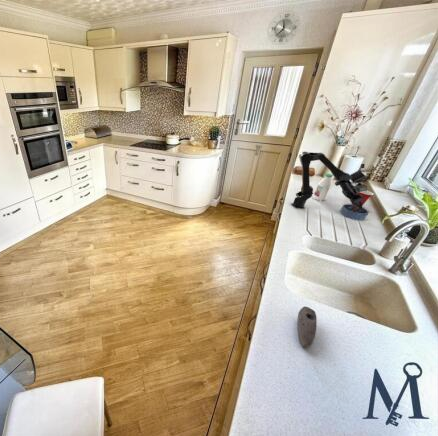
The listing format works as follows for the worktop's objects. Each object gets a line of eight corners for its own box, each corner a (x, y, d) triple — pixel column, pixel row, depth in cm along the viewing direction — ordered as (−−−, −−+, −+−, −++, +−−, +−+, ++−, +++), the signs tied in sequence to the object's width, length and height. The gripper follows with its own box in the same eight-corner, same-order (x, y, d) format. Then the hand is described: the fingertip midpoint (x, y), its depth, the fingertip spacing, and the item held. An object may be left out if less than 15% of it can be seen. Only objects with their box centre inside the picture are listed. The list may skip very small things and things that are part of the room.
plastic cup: (369, 209, 169) (378, 194, 163) (352, 207, 171) (360, 192, 165) (360, 203, 178) (368, 188, 172) (345, 201, 180) (352, 187, 174)
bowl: (349, 220, 154) (353, 213, 152) (334, 210, 167) (337, 203, 164) (370, 220, 155) (374, 214, 152) (354, 210, 167) (357, 204, 164)
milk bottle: (323, 197, 185) (334, 173, 174) (324, 201, 178) (336, 176, 168) (311, 195, 187) (322, 172, 177) (313, 199, 181) (324, 174, 171)
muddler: (357, 216, 158) (367, 199, 151) (350, 215, 159) (360, 198, 152) (354, 213, 162) (363, 196, 155) (347, 212, 162) (356, 195, 156)
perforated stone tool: (310, 356, 74) (319, 344, 71) (292, 347, 76) (300, 334, 73) (311, 322, 85) (319, 309, 82) (295, 315, 88) (302, 302, 84)
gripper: (368, 185, 142) (380, 204, 144) (355, 175, 157) (366, 193, 160) (347, 194, 148) (358, 213, 150) (336, 184, 163) (347, 201, 166)
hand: (358, 204), depth 156 cm, fingers open, 9 cm apart
